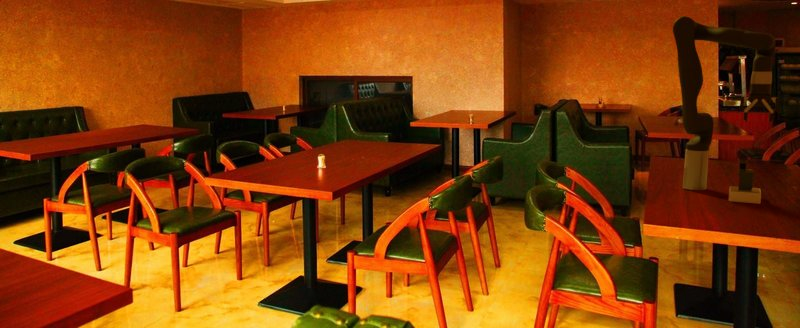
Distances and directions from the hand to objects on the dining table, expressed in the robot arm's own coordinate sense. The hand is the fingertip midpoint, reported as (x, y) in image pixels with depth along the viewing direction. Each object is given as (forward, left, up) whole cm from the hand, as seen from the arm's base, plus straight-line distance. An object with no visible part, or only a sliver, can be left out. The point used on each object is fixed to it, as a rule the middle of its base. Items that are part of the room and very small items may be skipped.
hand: (757, 121), depth 260 cm
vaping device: (-3, -18, -26) cm, 32 cm away
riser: (-3, -17, -30) cm, 35 cm away
